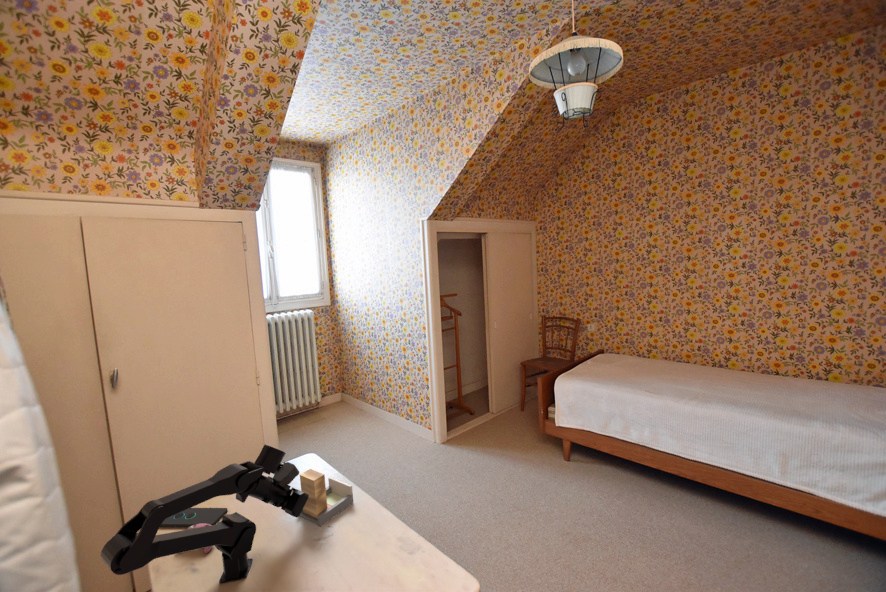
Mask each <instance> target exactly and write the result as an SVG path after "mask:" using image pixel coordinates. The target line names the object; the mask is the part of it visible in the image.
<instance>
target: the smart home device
mask: <svg viewBox="0 0 886 592" xmlns="http://www.w3.org/2000/svg"><path fill="white" fill-rule="evenodd" d="M228 512H229V511H228V507H191V508H189V509H187V510H184V511H182V512H180V513H178V514H175V515H173V516H171V517H168V518H166V519H165V520H164V521H163V523H162V524H161V525H160V527H159V528H187V529H188V528H189V527H190V526H192V525H196V524H201V523H206V524H210V525H216V524H218V523H219V522H220V521H221V520H222V517H223V515H224V514H227V513H228Z"/></svg>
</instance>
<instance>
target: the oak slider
mask: <svg viewBox="0 0 886 592" xmlns="http://www.w3.org/2000/svg"><path fill="white" fill-rule="evenodd" d="M299 481H300V491H302V492H304V493H306V494H308V495H309V498H308V500H307V502H306V503H305V505H304V507H303V512H304V513H306V514H308V515H310V516H312V517H314V518H316V519H317V516H318V515H320V514H321V513H323V512H324V511H325V510H327V498H326V488H327V486H326V477H325V474H324V473H321V472H319V471H318V470H314V469H312V468H309V469H307V470H306V471H304V472H303V473H299Z"/></svg>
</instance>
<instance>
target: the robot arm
mask: <svg viewBox="0 0 886 592" xmlns="http://www.w3.org/2000/svg"><path fill="white" fill-rule="evenodd" d="M285 456H286V452H285V451H283V450H281V449H278V448H275V447H273V446H270V445H268V444H264V445H263V447H262V449H261V451H260V452H259V455H258V456H257V458H256V459H255V461H254V462H252V461H251V460H248V461H245V462H244V461H243V462H241V463H231V464H228V465H227V466H225V467H223V468H221V469H219V470H218V471H217V472H216V473H215V474H214V475H212V476H211V477H210V478H208V479H205V480H202V481H200V482H198V483H195V484H193V485H191V486H190V485H189V486H188V487H185V488H183V489H180V490H177V491H175V492H173V493H171V494H168V495H165V496H163V497H160V498H158V499H151V500H149V501H148V502H146V503H145V504H144V505H143V506H142V507H141V509H140V510H139V511H138V512H137V514H135V515H134V516H132V518H130V519H129V520H128V521H126V522H125V523H124V524H123V525H122V526H121V527H120V529H118V531H117V532H116V534H114V536H112V537H111V538H110V539H109V540H108V541H107V542H106V543H105V544H104V545H103V547H102V549H101V551H100V559H101V561H102V562H103V563H104V564H105V565H106V567H107V568H108V569H109V570H110V571H111V573H113V574H114V575H117V576H122V575H127V574H129V573H132V572H134V571H136V570H137V571H138V570H139V569H142V568H144V567H145V566H146V565H148V564H150V563H151V562H153V560H155V559H158V558H164V557H169V556H172V555H177V554H182V553H186V552H191V551H195V550H200V549H204V548H205V547H210V546H212V547H213V546H214V547H215V548H216V550H218V551H219V552H221V559H222V566H223V567H222V569H223V572H222V573H221V576H220V578H219V580H218V583H219V584H223V583H229V582H233V581H239V580H244V579H246V578H247V576H248V574H249V571H250V570H251V566H252V564H253V558H248V553H249V552H250V551H252V547H253V544H254V540H255V539H254V538H255V535H256V533H257V525H256V523H255V522H254V521H252V520H250V519H249V518H247V517H245V516H244V515H242V514H240V513H239V512H237V511H235V512H233V513H231V514H227V513H226V514H224V515H223V517H222V518H221V520H219V521H218V522H217V523H216V525H211V526H205V527H200V528H194V529H189V530H187V529H183V530H178V531H172V532H167V533H162V534H157V533H158V531H159V528H161V527H160V525H161V524H162V523H163V521H164V520H165V519H166V518H168V517H171V516H173V515H175V514H178V513H180V512H182V511H184V510H187V509H189V508H195V507H196V506H198V505H200V504H203V503H205V502H207V501H209V500H212V499H214V498H217V497H221V496H222V497H223V496H230V495H232V496H233V495H235V500H237V501H239V502H241V503H245V502H246V501H247V499H248V497H251V498H253V499H256V500H259V501H261V502H263V503H265V504H270V505H272V506H273V507H276V508H280V509H281V510H282V511H284V512H285V513H286V514H288V515H290V516H292V517H294V518H298V517H300V516H299V515H300V513H301V511H302V509H303V507H304V505H305V503H306V502H307V500H308V498H309V495H308V494H306V493H304V492H302V491H301V489H300V490H299V489H297V488H295V487H291V485H290V484H291V483H292V482H293V481H294V479H296V477H298V476H299V475H300V471H299V469H298V468H297V467H296V465H295V464H294V463H291V462H289V461H287V462H285V461H283V459H284V457H285ZM282 461H283V463H282ZM263 474H266V475H268V476H265V475H263ZM271 474H273V477H272V476H270V475H271Z"/></svg>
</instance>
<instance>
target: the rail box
mask: <svg viewBox="0 0 886 592" xmlns="http://www.w3.org/2000/svg"><path fill="white" fill-rule="evenodd" d="M327 479H328V480H327V481H328V486H326V498H327V510H325V511H324V512H323V513H321V514H320V515H318V516H317V519H316V518H314V517H312V516H310V515H308V514H306V513H304V512H303V509H302V511H301V513H300V515H299V517H301V518H302V519H304V520H306V521H308V522H309V523H310V522H311V523H312V524H314V525H315V526H318V527H320V528H321V527H322V526H324V525H325V524H327V523H329V522H330V520H332V519H333V518H335V517H336V516H338V514H340V513H341V512H342V511H344V510H346V509H347V508H348V507H350V506H351V505H352V504H353V503H354V494H353V485H351V484H350V483H347V482H344V481H342V480H339V479H336V478H334V477H332V476H329V477H328V478H327Z"/></svg>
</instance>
